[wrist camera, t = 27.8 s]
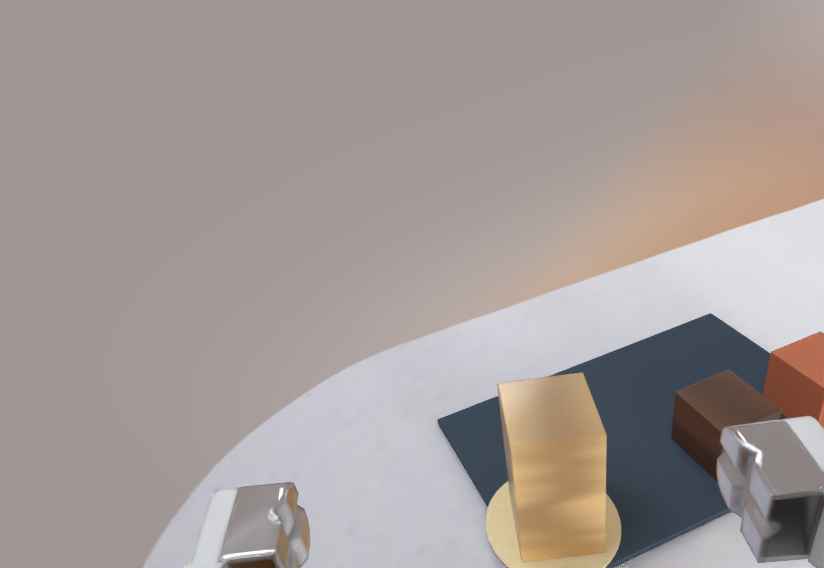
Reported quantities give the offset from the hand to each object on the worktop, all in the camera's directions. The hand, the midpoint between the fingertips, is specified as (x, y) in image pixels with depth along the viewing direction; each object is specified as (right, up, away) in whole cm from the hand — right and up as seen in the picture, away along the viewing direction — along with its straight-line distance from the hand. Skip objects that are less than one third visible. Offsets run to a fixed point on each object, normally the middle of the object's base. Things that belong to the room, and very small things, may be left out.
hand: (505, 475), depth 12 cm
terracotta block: (+27, -5, +33) cm, 42 cm away
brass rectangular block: (+7, -11, +28) cm, 31 cm away
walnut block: (+19, -7, +31) cm, 37 cm away
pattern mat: (+15, -7, +34) cm, 37 cm away
